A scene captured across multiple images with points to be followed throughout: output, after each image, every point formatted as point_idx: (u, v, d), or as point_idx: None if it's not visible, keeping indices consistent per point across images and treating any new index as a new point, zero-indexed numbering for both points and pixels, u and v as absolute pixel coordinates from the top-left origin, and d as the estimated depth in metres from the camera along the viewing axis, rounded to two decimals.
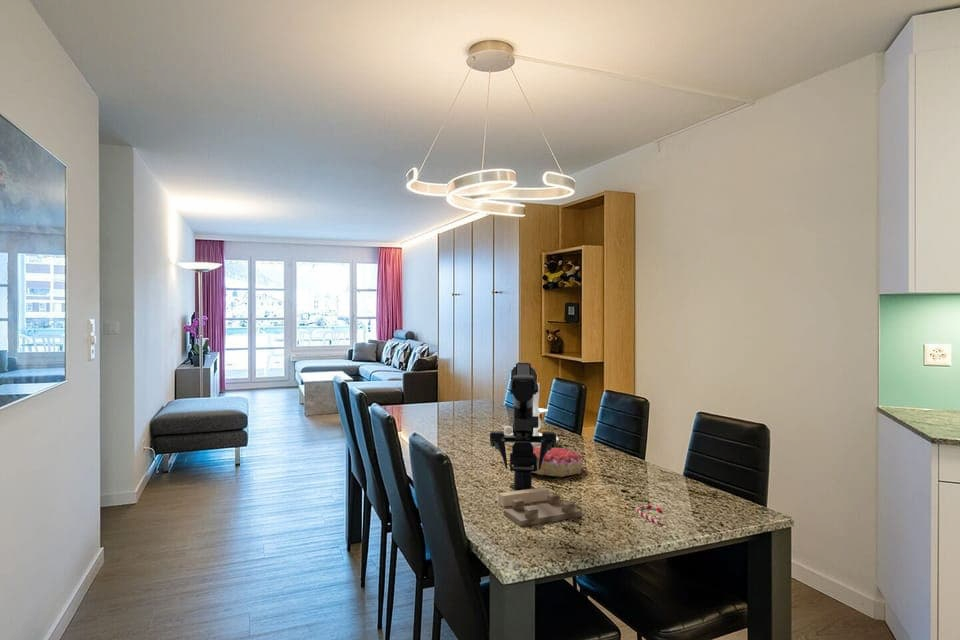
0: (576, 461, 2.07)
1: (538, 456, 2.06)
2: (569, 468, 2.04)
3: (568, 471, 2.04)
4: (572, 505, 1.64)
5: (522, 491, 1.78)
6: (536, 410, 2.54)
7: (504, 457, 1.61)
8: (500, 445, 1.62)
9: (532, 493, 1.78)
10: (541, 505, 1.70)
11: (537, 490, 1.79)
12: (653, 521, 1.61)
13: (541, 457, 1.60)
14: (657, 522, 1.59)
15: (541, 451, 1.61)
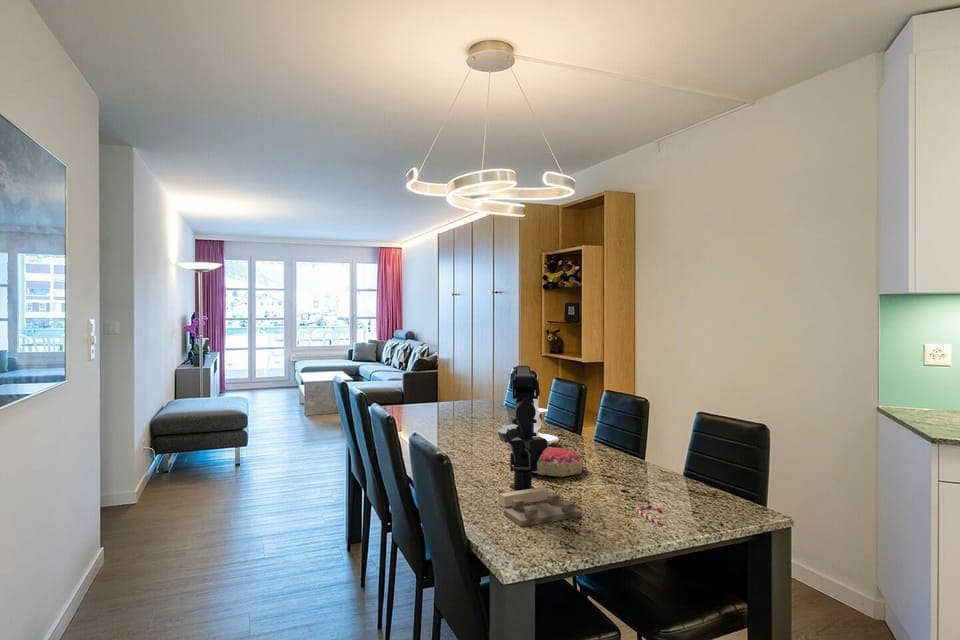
0: (577, 461, 2.07)
1: None
2: (570, 468, 2.04)
3: (569, 471, 2.04)
4: (572, 505, 1.64)
5: (522, 491, 1.78)
6: (536, 410, 2.54)
7: (513, 453, 1.82)
8: (508, 443, 1.83)
9: (532, 493, 1.78)
10: (541, 505, 1.70)
11: (537, 490, 1.79)
12: (653, 521, 1.61)
13: (529, 460, 1.73)
14: (657, 522, 1.59)
15: (528, 455, 1.73)
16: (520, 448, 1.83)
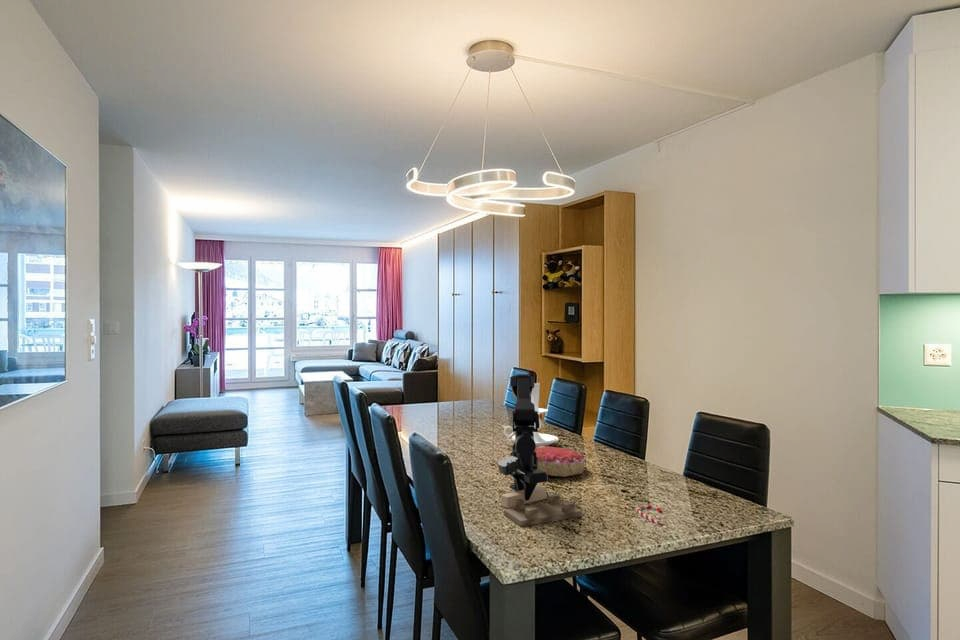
0: (579, 461, 2.07)
1: (541, 456, 2.06)
2: (571, 468, 2.04)
3: (570, 471, 2.04)
4: (572, 505, 1.64)
5: (522, 491, 1.78)
6: (536, 410, 2.54)
7: (517, 487, 1.80)
8: None
9: None
10: (541, 505, 1.70)
11: (536, 489, 1.80)
12: (653, 521, 1.60)
13: (524, 491, 1.75)
14: (657, 522, 1.59)
15: (524, 486, 1.75)
16: None
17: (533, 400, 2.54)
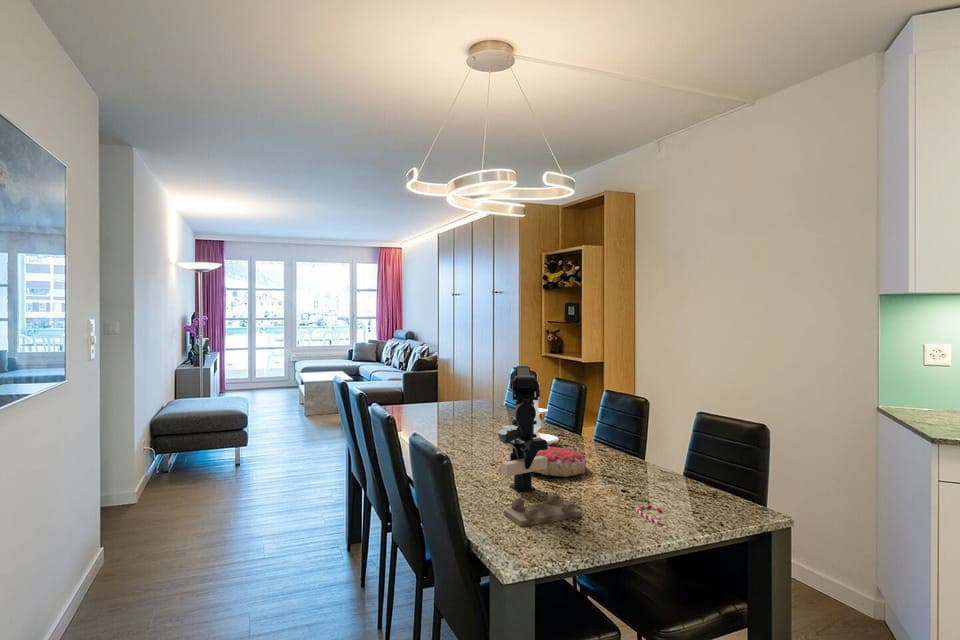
0: (580, 461, 2.07)
1: None
2: (573, 468, 2.04)
3: (572, 471, 2.04)
4: (572, 505, 1.64)
5: (522, 460, 1.78)
6: (536, 410, 2.54)
7: (517, 457, 1.80)
8: (513, 446, 1.80)
9: None
10: (541, 505, 1.70)
11: (536, 458, 1.80)
12: (653, 521, 1.60)
13: (525, 460, 1.75)
14: (657, 522, 1.59)
15: (524, 454, 1.75)
16: None
17: (533, 400, 2.54)
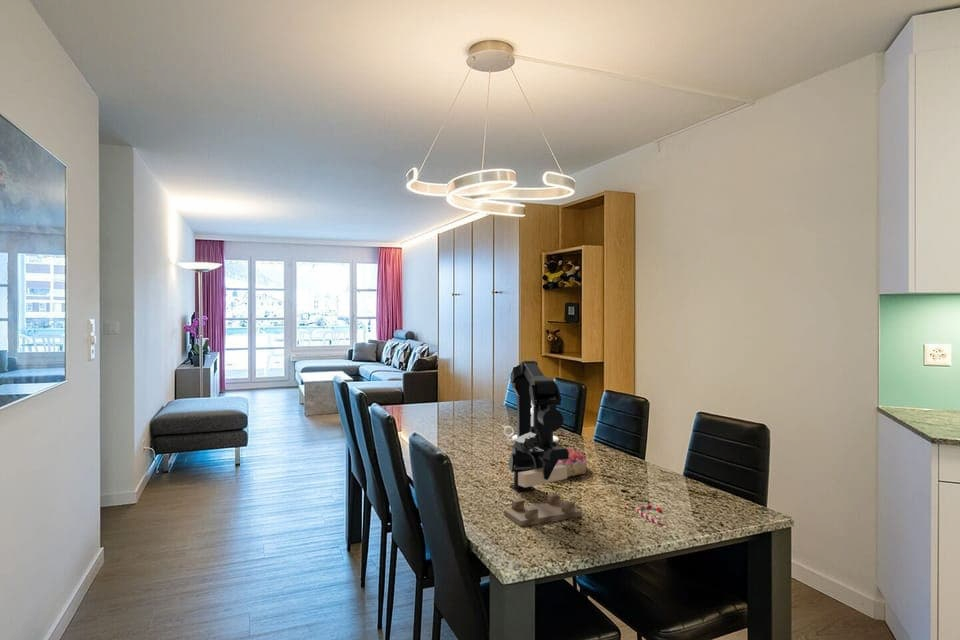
0: (581, 461, 2.07)
1: None
2: (574, 468, 2.04)
3: (573, 471, 2.04)
4: (572, 505, 1.64)
5: (541, 469, 1.66)
6: None
7: (535, 466, 1.68)
8: (530, 455, 1.68)
9: (552, 471, 1.66)
10: (541, 505, 1.70)
11: (556, 467, 1.68)
12: (653, 521, 1.60)
13: (544, 469, 1.63)
14: (657, 522, 1.59)
15: (543, 464, 1.63)
16: None
17: None
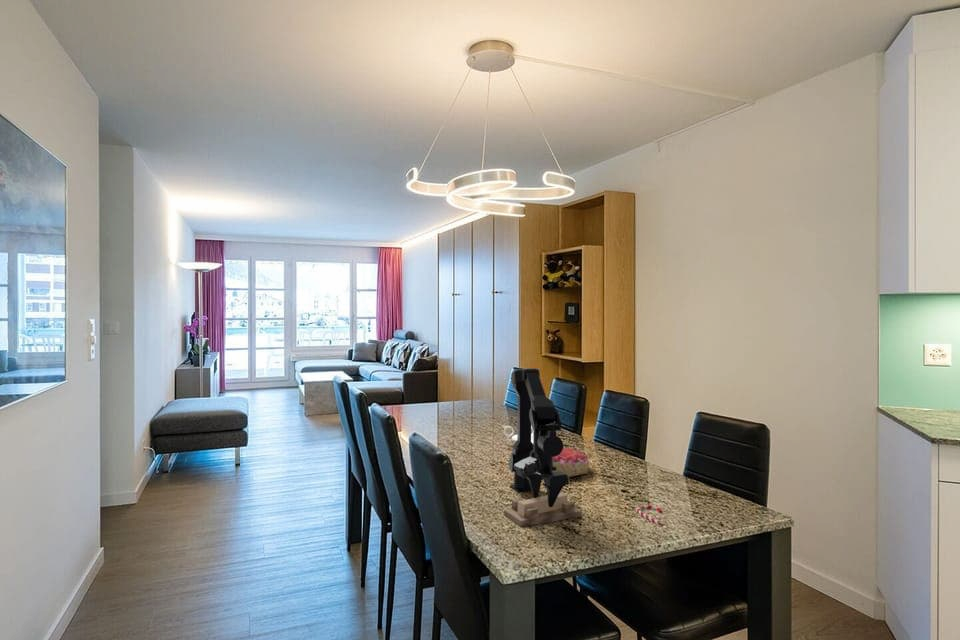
0: (583, 461, 2.07)
1: None
2: (576, 468, 2.04)
3: (575, 471, 2.04)
4: (572, 505, 1.64)
5: (541, 498, 1.66)
6: None
7: (531, 488, 1.70)
8: (526, 477, 1.70)
9: None
10: None
11: None
12: (653, 521, 1.60)
13: (548, 497, 1.61)
14: (657, 522, 1.59)
15: (547, 491, 1.61)
16: (539, 482, 1.71)
17: None
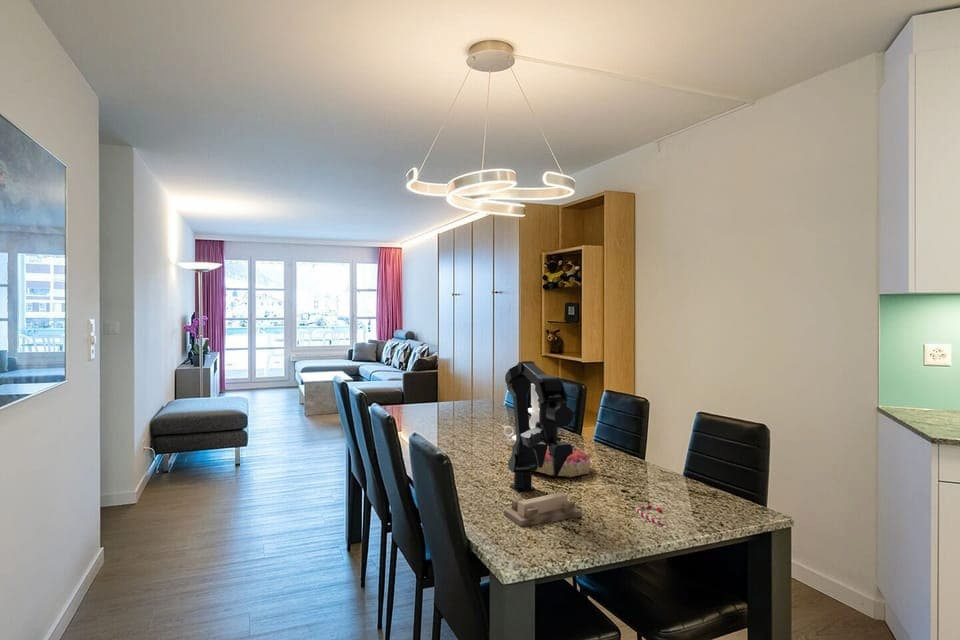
0: (585, 461, 2.07)
1: (547, 456, 2.06)
2: (578, 468, 2.04)
3: (577, 471, 2.04)
4: (572, 505, 1.64)
5: (541, 498, 1.66)
6: (536, 410, 2.54)
7: (536, 458, 1.76)
8: (531, 447, 1.77)
9: (552, 500, 1.66)
10: None
11: (556, 496, 1.68)
12: (653, 521, 1.60)
13: (553, 466, 1.67)
14: (657, 522, 1.59)
15: None
16: (544, 452, 1.77)
17: (533, 400, 2.54)
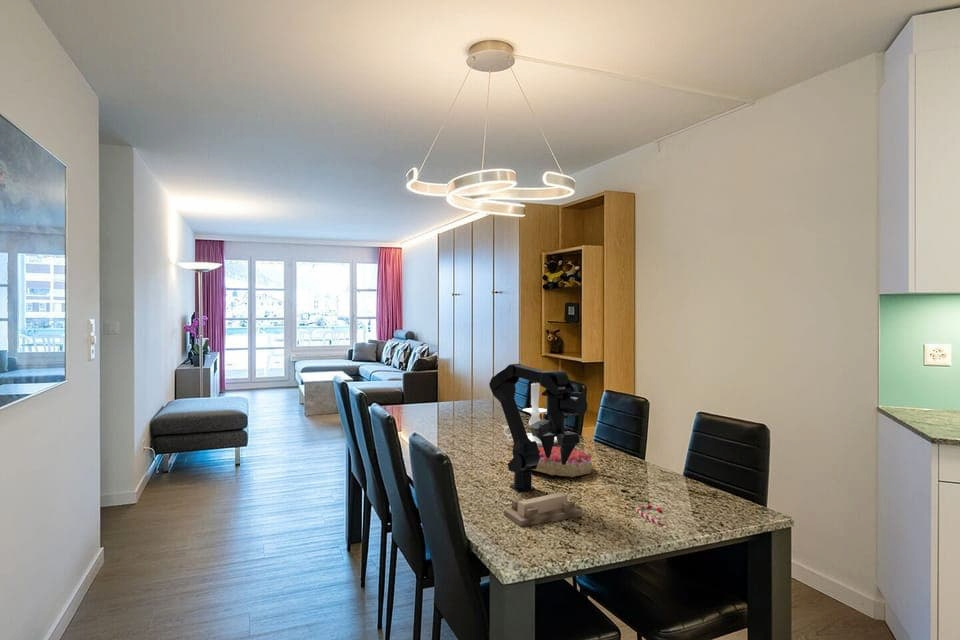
0: (586, 461, 2.07)
1: None
2: (580, 468, 2.04)
3: (578, 471, 2.04)
4: (572, 505, 1.64)
5: (541, 498, 1.66)
6: (536, 410, 2.54)
7: (544, 448, 1.84)
8: (539, 438, 1.85)
9: (552, 500, 1.66)
10: None
11: (556, 496, 1.68)
12: (653, 521, 1.60)
13: (561, 455, 1.75)
14: (657, 522, 1.59)
15: (560, 450, 1.75)
16: (551, 443, 1.85)
17: (533, 400, 2.54)
